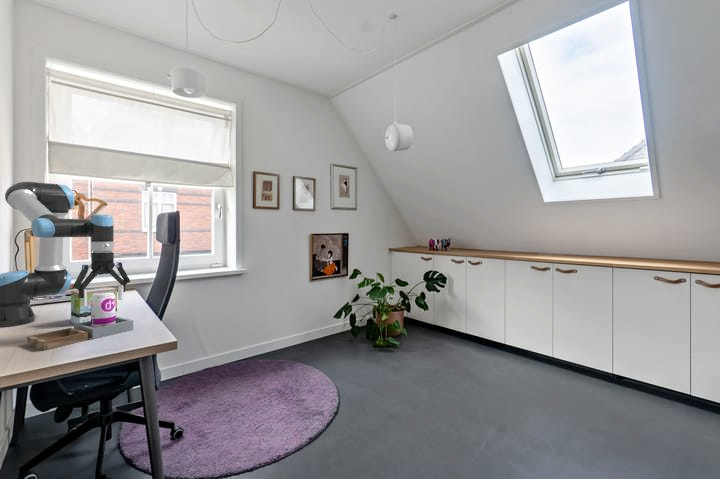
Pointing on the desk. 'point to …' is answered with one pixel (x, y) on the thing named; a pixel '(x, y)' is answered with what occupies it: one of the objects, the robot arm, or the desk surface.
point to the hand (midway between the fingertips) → (103, 302)
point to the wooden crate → (57, 338)
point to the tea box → (84, 312)
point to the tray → (105, 328)
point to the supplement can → (103, 309)
